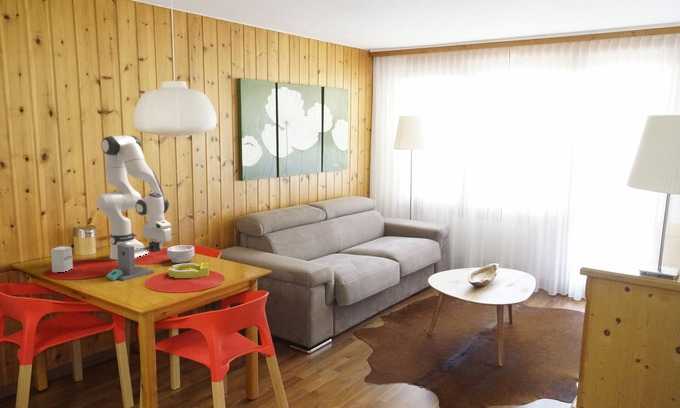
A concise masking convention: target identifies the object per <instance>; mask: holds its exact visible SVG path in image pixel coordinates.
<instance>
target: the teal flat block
mask: <svg viewBox="0 0 680 408" xmlns="http://www.w3.org/2000/svg"><path fill="white" fill-rule="evenodd" d="M108 273H109V274H108ZM108 273H107V274H106V277H107V279H108V280H112V281H116V280H118V279H117V278H118V277H120V276H121V275H122V274H123V273H122V271H121V270H119V269H117V268H114V269H112V271H110V272H108Z"/></svg>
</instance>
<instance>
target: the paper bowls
mask: <svg viewBox="0 0 680 408" xmlns="http://www.w3.org/2000/svg"><path fill="white" fill-rule="evenodd" d="M166 256H167V258H168V259H170V260H171V262H173V263H176V264H184V263H188V262H190V261H191V260H192V257H194V256H195V246H193V245H189V244H184V245H183V244H180V245H174V246H170V247H168V248H167V249H166Z"/></svg>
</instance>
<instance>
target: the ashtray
mask: <svg viewBox="0 0 680 408" xmlns="http://www.w3.org/2000/svg"><path fill="white" fill-rule="evenodd" d="M168 275H169V276H170V277H174V278H192V279H197V278H198V277H200V278H205V277H204V276H206V277H209V275H210V263H209V262H200V264H198V263H191V262H190V263H188V262H184V263H176V264H173V265H171V266H170V267H169V268H168ZM169 276H168V277H169ZM170 277H169V278H170ZM198 279H199V278H198Z"/></svg>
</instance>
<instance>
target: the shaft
mask: <svg viewBox="0 0 680 408" xmlns="http://www.w3.org/2000/svg"><path fill="white" fill-rule="evenodd" d="M159 244H160V243H159V241H158V240H154V241H153V242H151V241H149V242H148V246H144V248H140V249H135V250H134V253H135V252H140V251H144V250H146V251H148V252H149V253H150V252H151V253H157V252H160V251H161V249H160V248H158V245H159Z"/></svg>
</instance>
